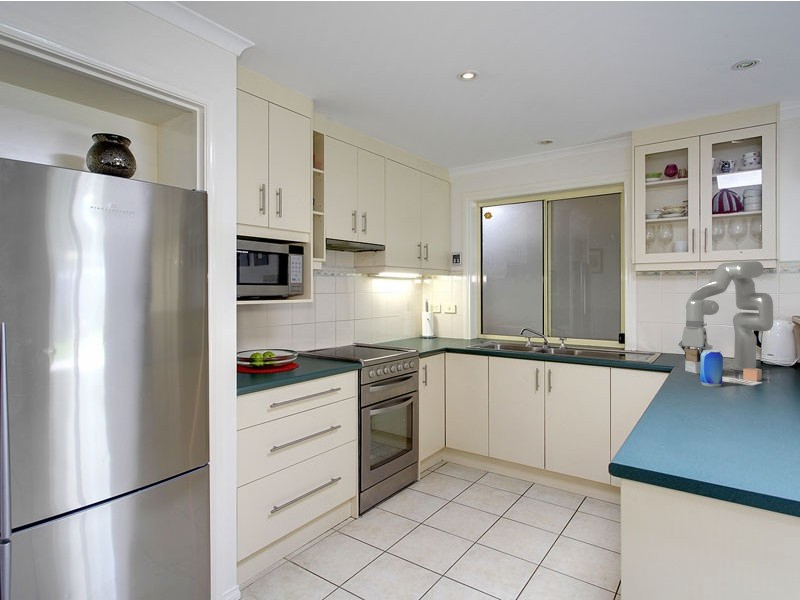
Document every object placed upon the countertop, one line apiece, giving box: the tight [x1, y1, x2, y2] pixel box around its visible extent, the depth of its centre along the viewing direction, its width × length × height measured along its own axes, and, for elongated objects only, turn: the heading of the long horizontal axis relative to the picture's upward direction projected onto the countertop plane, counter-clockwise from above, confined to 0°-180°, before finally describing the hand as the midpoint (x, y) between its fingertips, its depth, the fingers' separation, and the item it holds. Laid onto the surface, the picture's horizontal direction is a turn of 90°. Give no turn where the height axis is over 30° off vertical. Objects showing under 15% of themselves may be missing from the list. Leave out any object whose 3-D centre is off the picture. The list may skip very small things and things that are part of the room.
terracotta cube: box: [742, 368, 763, 382], centre depth 220 cm, size 6×6×6 cm
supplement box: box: [684, 344, 713, 374], centre depth 240 cm, size 9×9×15 cm
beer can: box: [699, 349, 724, 388], centre depth 208 cm, size 8×8×16 cm
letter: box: [722, 376, 763, 386], centre depth 218 cm, size 13×17×1 cm
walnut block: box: [686, 349, 701, 362], centre depth 229 cm, size 5×5×6 cm
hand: (693, 360), depth 229 cm, fingers closed on walnut block, 5 cm apart
